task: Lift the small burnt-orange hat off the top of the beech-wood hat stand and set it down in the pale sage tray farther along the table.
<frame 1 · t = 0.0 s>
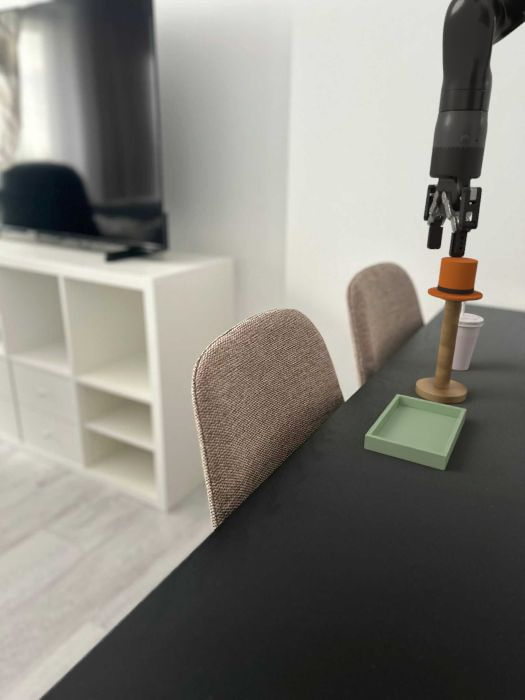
hand: (444, 252, 83), 22 cm above the table, tool pointing down, fingers open, 8 cm apart
hat stand: (440, 393, 84), on the table
hat: (454, 294, 79), point 17 cm above the table, touching hat stand
tray: (417, 434, 71), on the table
smoothie: (457, 367, 96), on the table
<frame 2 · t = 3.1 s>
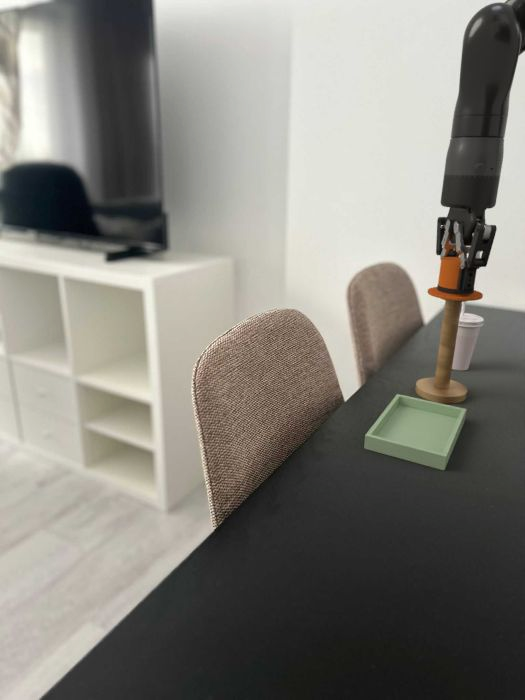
hand: (455, 289, 79), 17 cm above the table, tool pointing down, fingers closed on hat, 5 cm apart
hat: (454, 294, 79), point 17 cm above the table, touching gripper, hat stand
everything else where it was.
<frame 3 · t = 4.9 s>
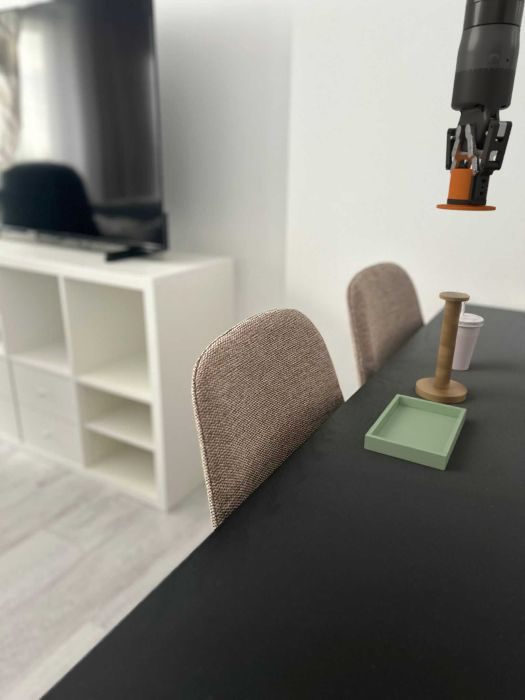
hand: (466, 202, 73), 30 cm above the table, tool pointing down, fingers closed on hat, 5 cm apart
hat: (465, 208, 74), point 29 cm above the table, touching gripper
everything else where it was.
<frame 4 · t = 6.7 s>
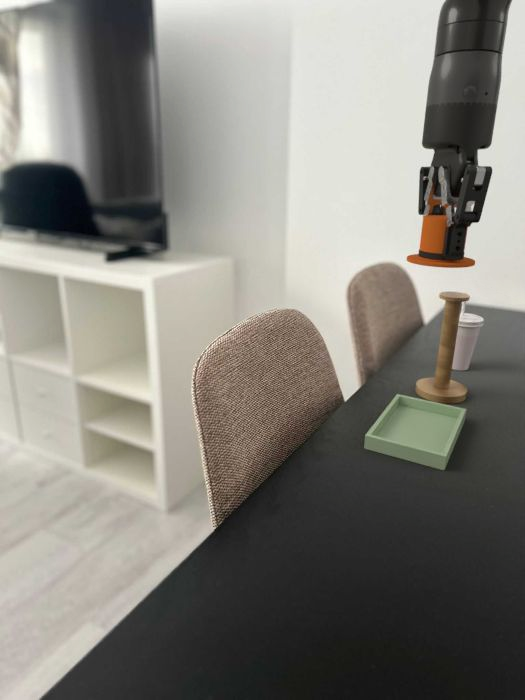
hand: (441, 255, 63), 25 cm above the table, tool pointing down, fingers closed on hat, 5 cm apart
hat: (440, 261, 63), point 24 cm above the table, touching gripper
everything else where it was.
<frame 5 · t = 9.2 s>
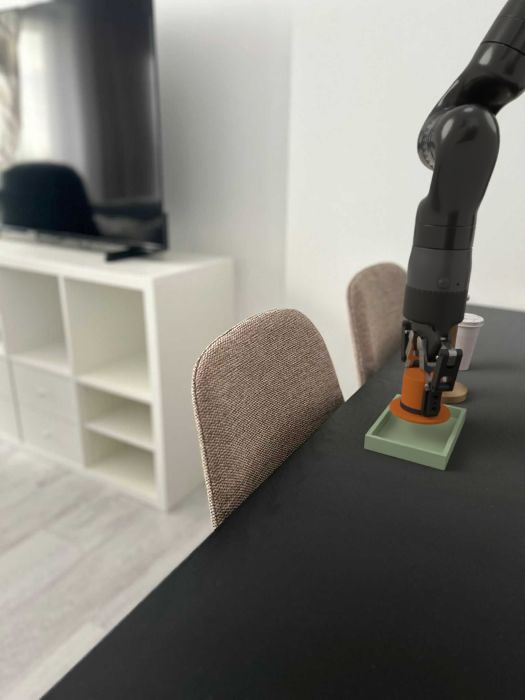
hand: (420, 405, 69), 4 cm above the table, tool pointing down, fingers closed on hat, 5 cm apart
hat: (419, 411, 70), point 4 cm above the table, touching gripper
everything else where it was.
when the fingers open (1 cm above the table, at t = 10.7 s): hat stays where it is, resting on tray.
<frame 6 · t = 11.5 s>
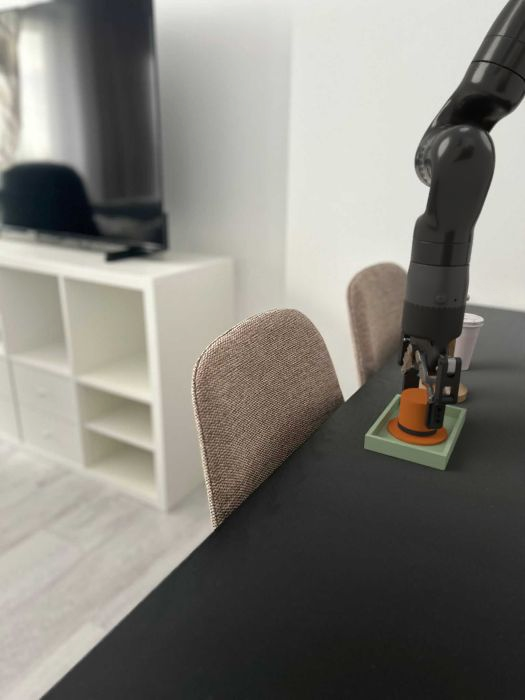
hand: (420, 413, 70), 3 cm above the table, tool pointing down, fingers open, 8 cm apart
hat: (416, 431, 71), resting on tray
everything else where it was.
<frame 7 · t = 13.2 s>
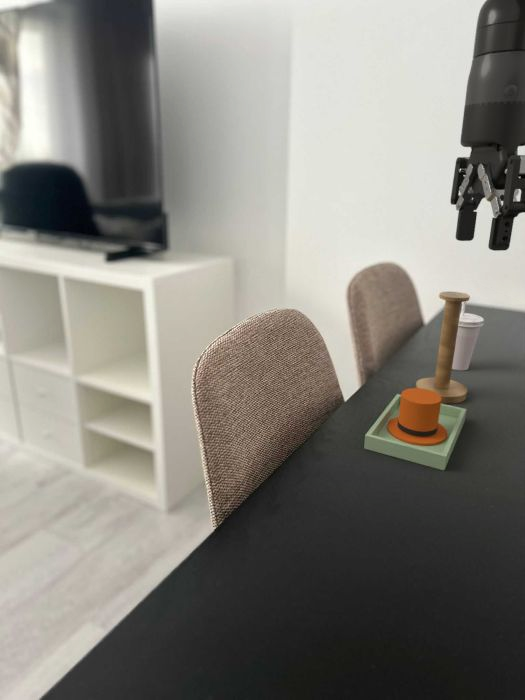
hand: (480, 244, 64), 26 cm above the table, tool pointing down, fingers open, 8 cm apart
nothing on the table moved.
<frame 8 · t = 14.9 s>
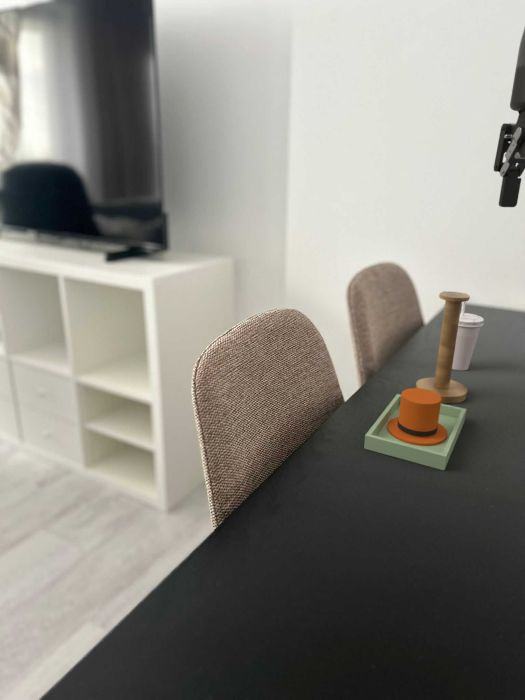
nothing on the table moved.
at the end: hat 0.1 cm off-centre in the tray, point 0.5 cm above the tray's base; hat tilted 0°; the gripper is holding nothing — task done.
